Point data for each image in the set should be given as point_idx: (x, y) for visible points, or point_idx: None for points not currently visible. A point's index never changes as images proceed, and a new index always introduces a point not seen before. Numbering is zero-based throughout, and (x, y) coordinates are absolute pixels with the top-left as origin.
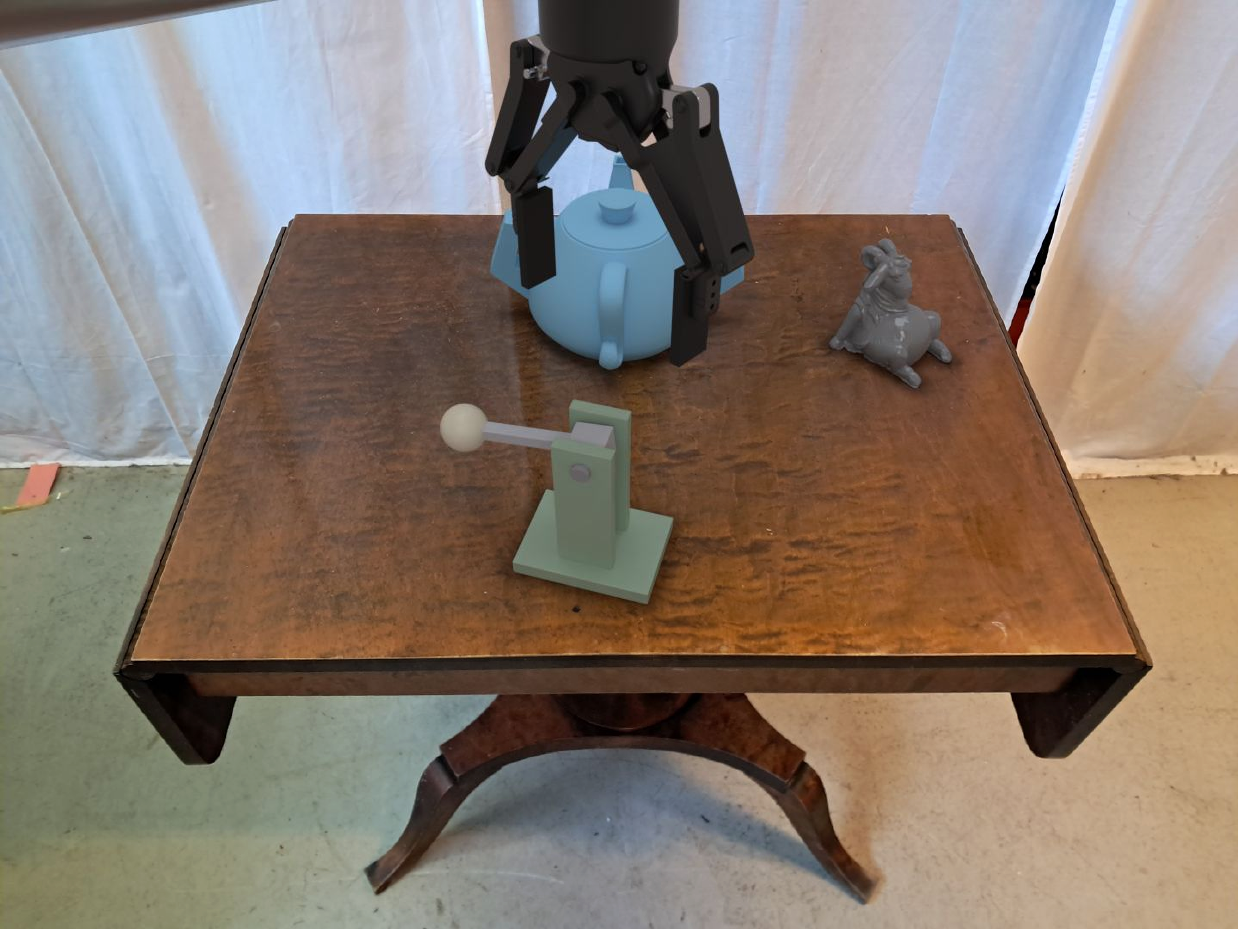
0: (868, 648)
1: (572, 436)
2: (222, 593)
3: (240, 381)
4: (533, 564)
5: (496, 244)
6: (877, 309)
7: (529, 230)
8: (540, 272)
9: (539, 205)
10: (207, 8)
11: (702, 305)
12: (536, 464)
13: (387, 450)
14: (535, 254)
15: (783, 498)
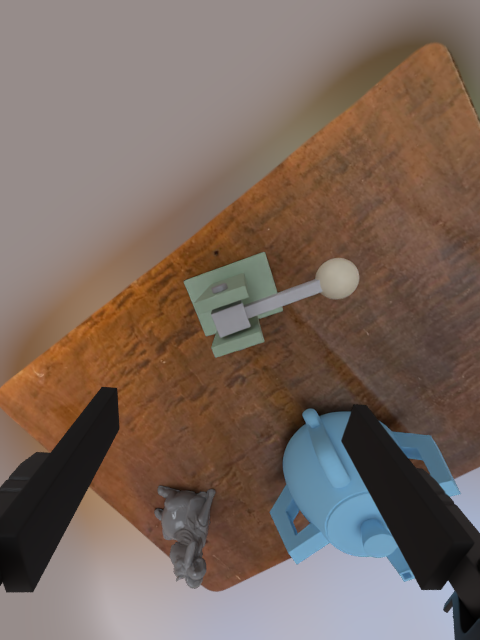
0: (78, 326)
1: (242, 310)
2: (417, 116)
3: None
4: (252, 258)
5: (443, 459)
6: (189, 527)
7: (402, 484)
8: (355, 432)
9: (418, 542)
10: None
11: (11, 480)
12: (304, 326)
13: (396, 280)
14: (372, 451)
15: (170, 384)
